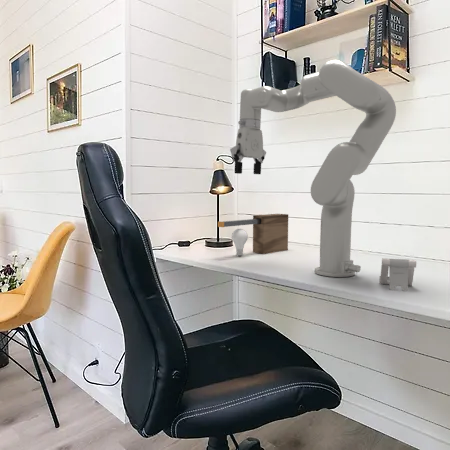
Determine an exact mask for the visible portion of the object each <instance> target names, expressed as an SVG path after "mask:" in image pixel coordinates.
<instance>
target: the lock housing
mask: <svg viewBox="0 0 450 450" xmlns="http://www.w3.org/2000/svg"><path fill="white" fill-rule="evenodd" d="M260 218H261V224H252V253H255V254H262V255H266V254H272V253H277V252H284V251H289V214H287V213H268V214H256V215H255V214H254V215H252V219H260Z"/></svg>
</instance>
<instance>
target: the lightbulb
mask: <svg viewBox="0 0 450 450" xmlns="http://www.w3.org/2000/svg"><path fill="white" fill-rule="evenodd" d="M248 235H249V234H248V233H247V230H245V229H243V228H237V229H235V230H234V231H232V234H231V240H232V242H233V243H234V247H235V249H236V252H235V255H236V256H237V257H241V256H243V255H244V248H245V244H246V242H247V241H248V239H249V238H248Z"/></svg>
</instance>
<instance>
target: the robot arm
mask: <svg viewBox="0 0 450 450" xmlns="http://www.w3.org/2000/svg"><path fill="white" fill-rule="evenodd" d="M332 97H333V98H334V97H337V98H339V99H341V100H342V101H344V102H345V103H346V104H348V105H350V106H351V107H352V108H355V109H356V110H359V111H361V112H362V113H363V112H364V113H365V117H364V119H363V120H362V122H361V123H360V124H359V125H358V127H357V128H356V130H355V132H354V134H353V135H352V137H351V139H350V140H349V142H348V141H345V142H341V143H338V144H336V145H335V146H334V147H333V148H332V149H331V150H330V151H329V153H328V154H327V156H326V158H325V159H324V161H323V162H322V165H321V166H320V168H319V169H318V171H317V173H316V175H315V176H314V179H313V180H312V183H311V186H310V196H311V198H312V200H313V202H314V203H316V204H318V205H319V206H322V209H321V213H320V214H321V215H320V235H319V237H320V239H319V241H320V243H319V266H317V267H315V268H314V273H315V274H316V275H318V276H319V275H320V276H323V277H331V278H333V277H334V278H348V277H353V276H354V275H356V273H360V272H361V267H362V266H361V265H359V264H354V260H352V259H351V252H352V251H351V249H352V248H351V245H352V244H351V243H352V218H353V217H352V216H353V207H354V200H355V191H356V190H355V185H354V184H353V182H352V180H351V178H352V176H358V175H361V174H363V173H364V172H365V171H366V170H367V169H368V167H369V166H370V163H371V162H372V161H373V159H374V157H375V155H376V154H377V152H378V150H379V149H380V147H381V145H382V144H383V142H384V140H385V139H386V137H387V135H389V132H390V130H391V128H392V127H393V125H394V122H395V120H396V116H397V107H396V103H395V100H394V98H393V97H392V95H391V94H390V92H389V91H388V90H387V89H386V88H385V87H383V86H382V85H380V84H379V83H377V82H375V81H374V80H373V79H370V78H369V77H367V76H365V75H364V74H362V73H360V72H359V71H357V70H355V69H354V68H353V67H351V66H350V65H349V64H348V63H346V62H345V61H342V60H339V59H332V60H328V61H326V62H325V63H324V64H323V65H322V66H321V67H320V69H319V71H316V72H312V73H309V74H306V75H305V74H304V75H303V76H302V78H301V79H300V84H298V85H297V86H295V87H291V88H287V89H283V90H280V89H278V88H276V87H272V86H269V85H264V86H260V87H257V88H246V89H243V90H242V91H241V92H240V100H239V101H240V107H239V121H238V125H239V128H238V130H237V134H236V141H235V146H233V147H231V148H230V149H229V152H230V154H231V157H232V159H233V160H232V161H233V162H234V174H238V175H239V174H241V175H242V173H243V162H242V161H243V159H244V158H248V159H249V158H252V159H253V161H254V163H253V172H252V174H253V175H262V174H261V173H262V164H263V163H264V160H265V157H266V155H267V151H266V150H265V149H264V139H263V138H264V136H263V131H262V129H261V124H262V122H261V121H262V120H261V119H262V110H267V111H271V112H274V113H283V112H288V111H292V110H296V109H299V108H303V107H304V106H306V105H308V104H309V103H312V102H315V101H320V100H324V99H329V98H332Z"/></svg>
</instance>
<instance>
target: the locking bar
mask: <svg viewBox="0 0 450 450" xmlns="http://www.w3.org/2000/svg"><path fill="white" fill-rule="evenodd" d="M253 224H261V218H260V219H253V218H250V219H249V218H248V219H238V220H224V221H217V227H218V228H225V227H226V228H227V227H237V226H238V227H239V226H249V225H253Z"/></svg>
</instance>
